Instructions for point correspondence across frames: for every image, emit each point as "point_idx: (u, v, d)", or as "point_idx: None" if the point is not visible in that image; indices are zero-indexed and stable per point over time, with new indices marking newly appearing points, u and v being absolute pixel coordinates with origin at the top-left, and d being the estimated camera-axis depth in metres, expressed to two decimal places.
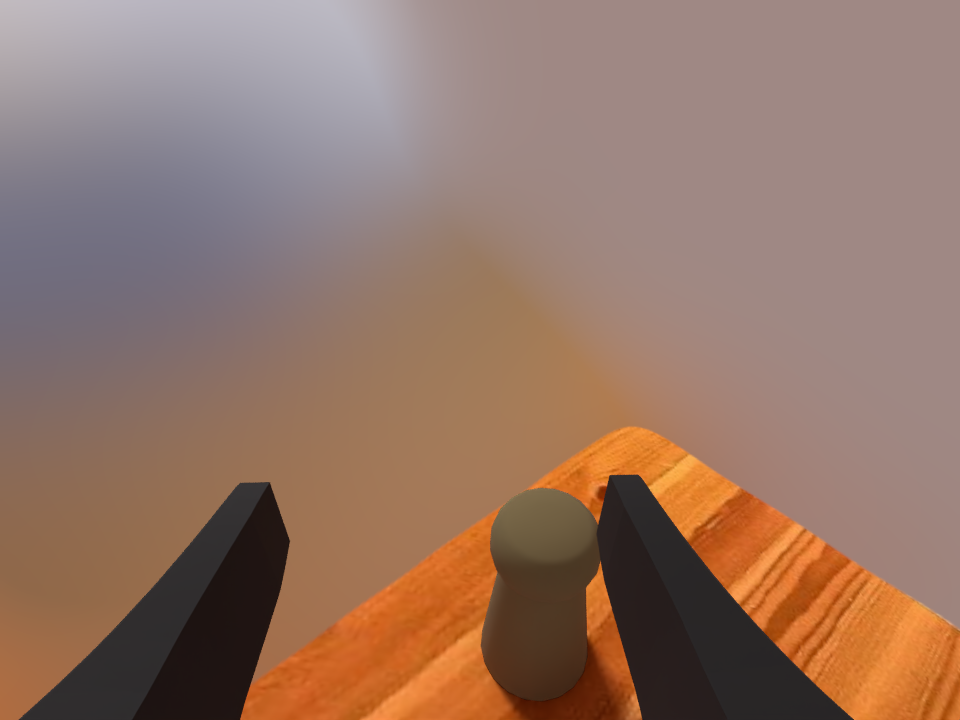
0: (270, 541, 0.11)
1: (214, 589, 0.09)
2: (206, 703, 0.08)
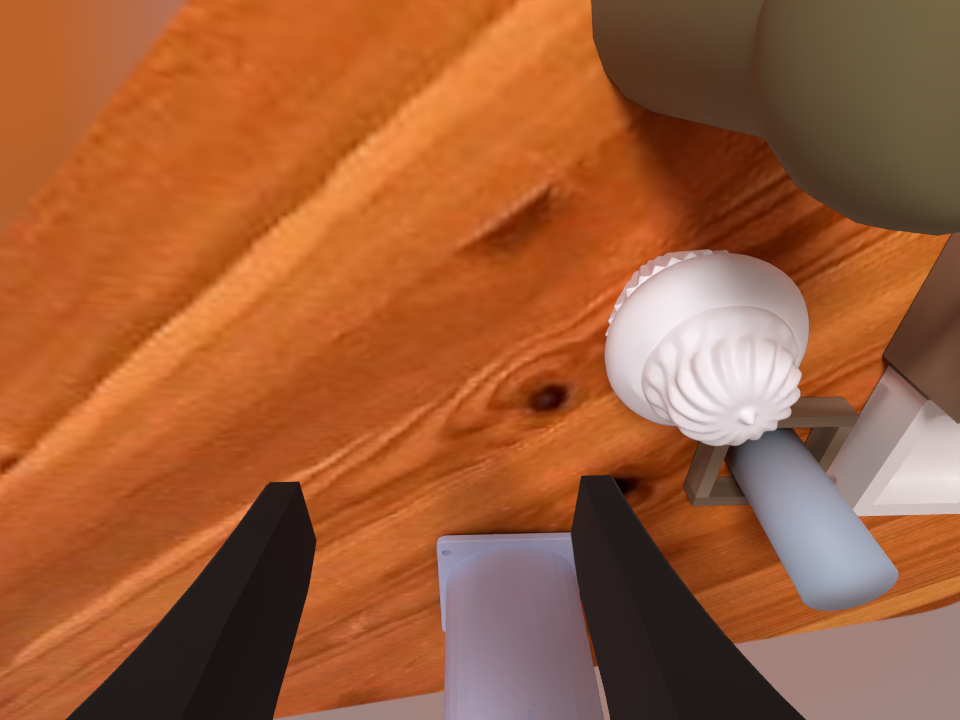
0: (300, 540, 0.11)
1: (251, 588, 0.09)
2: (244, 702, 0.08)
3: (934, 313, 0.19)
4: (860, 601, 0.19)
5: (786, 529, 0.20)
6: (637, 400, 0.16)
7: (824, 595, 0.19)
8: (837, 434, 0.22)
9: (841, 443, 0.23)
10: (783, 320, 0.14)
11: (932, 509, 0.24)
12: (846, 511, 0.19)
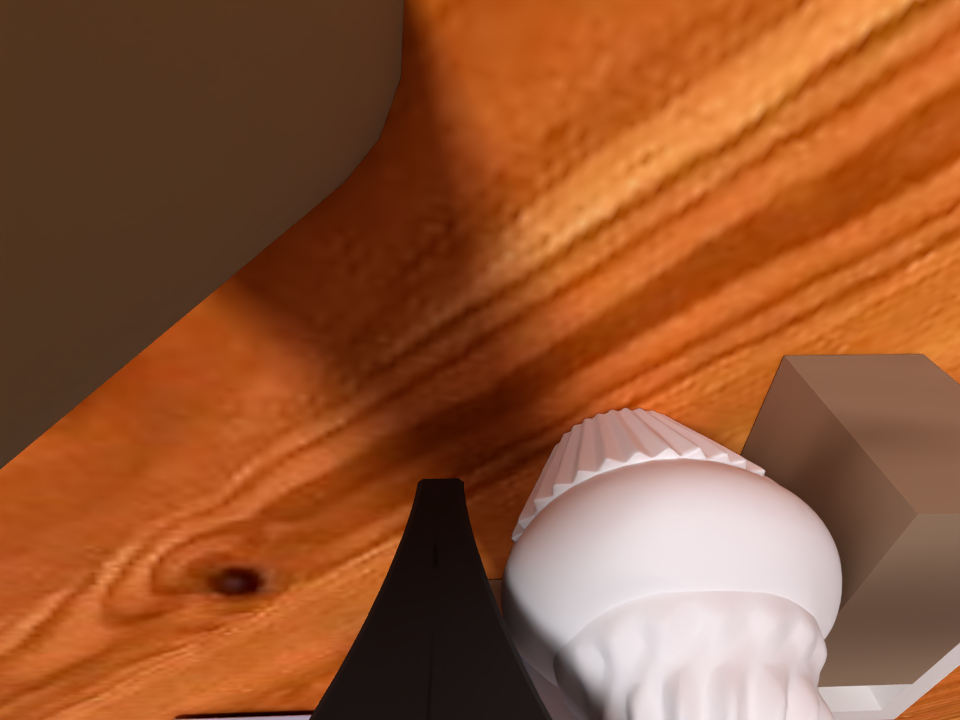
0: None
1: (442, 583, 0.09)
2: None
3: None
4: None
5: None
6: None
7: None
8: None
9: None
10: (799, 608, 0.08)
11: None
12: None
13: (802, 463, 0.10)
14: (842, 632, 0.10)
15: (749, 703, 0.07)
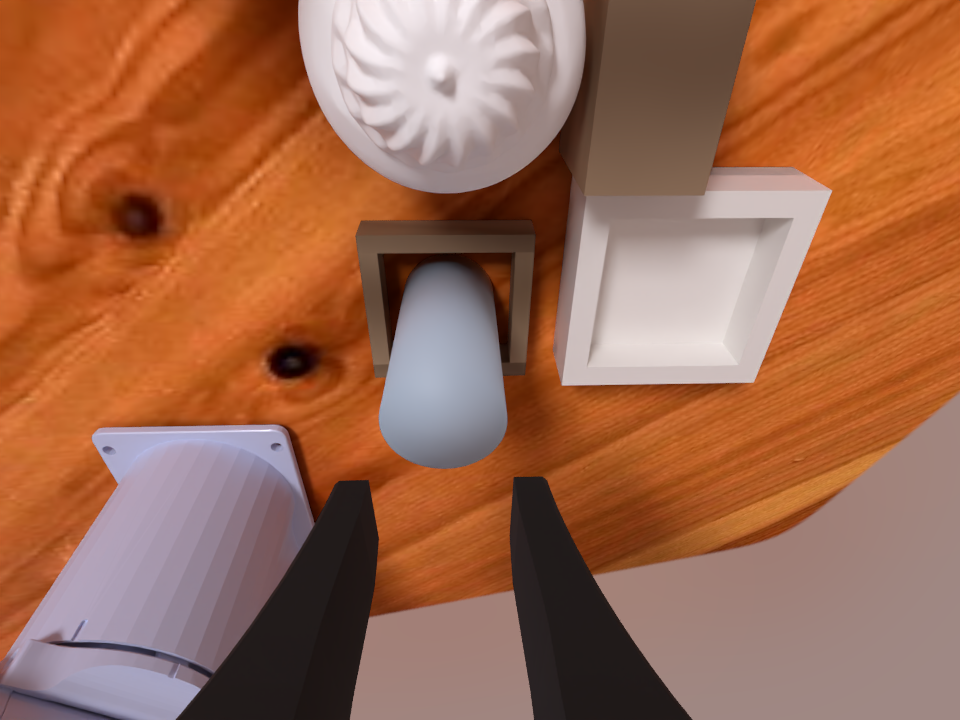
0: (369, 539, 0.11)
1: (338, 585, 0.09)
2: (332, 699, 0.09)
3: None
4: (481, 448, 0.14)
5: (389, 363, 0.15)
6: (353, 131, 0.11)
7: (419, 440, 0.13)
8: (517, 264, 0.17)
9: (528, 279, 0.17)
10: None
11: (668, 375, 0.19)
12: (456, 326, 0.14)
13: None
14: (615, 86, 0.12)
15: None
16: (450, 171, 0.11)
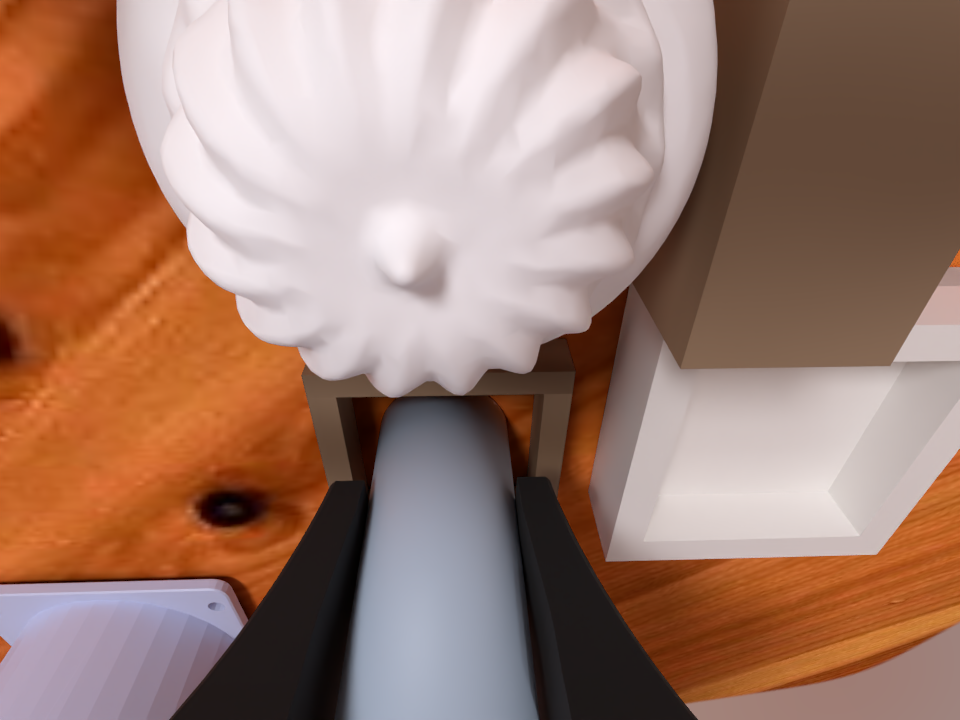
0: None
1: (333, 585, 0.09)
2: (327, 699, 0.08)
3: None
4: None
5: (349, 625, 0.09)
6: None
7: None
8: (546, 409, 0.11)
9: (562, 427, 0.12)
10: None
11: (758, 549, 0.13)
12: (448, 579, 0.09)
13: None
14: (764, 196, 0.06)
15: None
16: None
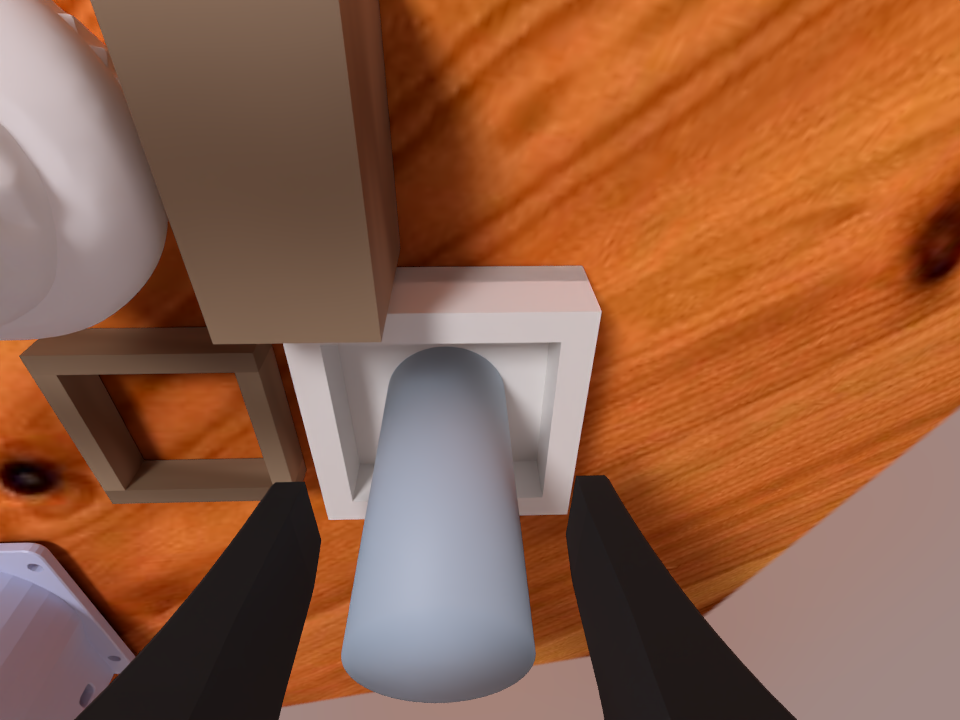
0: (305, 540, 0.11)
1: (258, 587, 0.09)
2: (251, 701, 0.08)
3: None
4: (500, 681, 0.09)
5: (360, 546, 0.10)
6: None
7: (406, 679, 0.09)
8: (241, 385, 0.14)
9: (263, 401, 0.14)
10: None
11: None
12: (450, 497, 0.10)
13: None
14: (192, 213, 0.08)
15: None
16: None
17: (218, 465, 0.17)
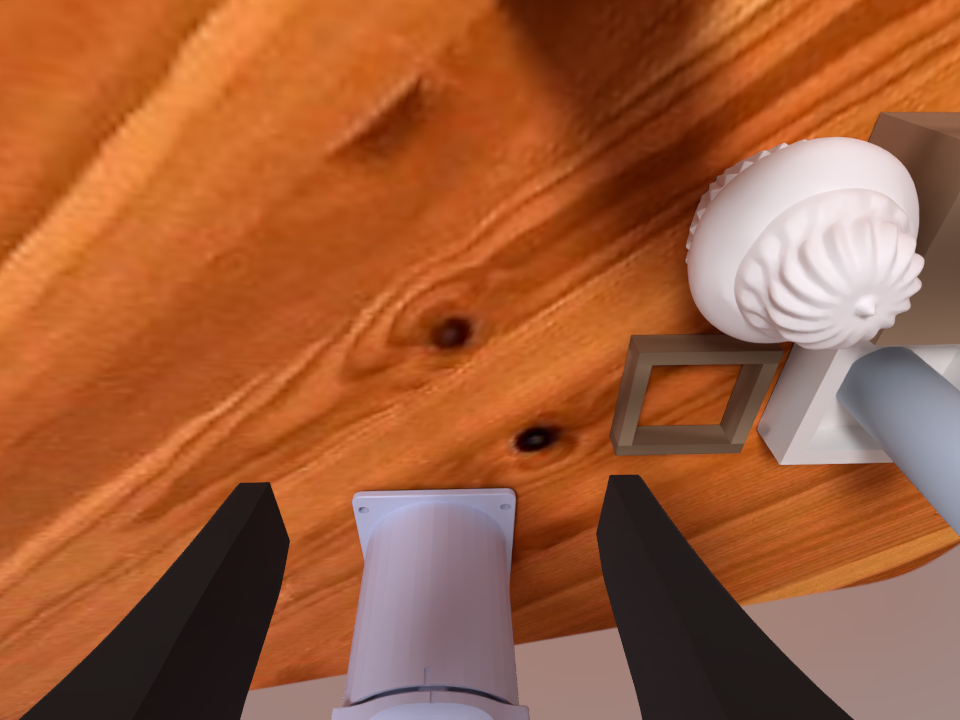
0: (270, 541, 0.11)
1: (214, 589, 0.09)
2: (206, 703, 0.08)
3: None
4: None
5: (931, 465, 0.17)
6: (727, 310, 0.15)
7: None
8: (762, 372, 0.21)
9: (767, 383, 0.21)
10: (898, 204, 0.13)
11: (869, 456, 0.22)
12: None
13: None
14: (925, 276, 0.15)
15: (875, 234, 0.12)
16: None
17: (679, 430, 0.24)
